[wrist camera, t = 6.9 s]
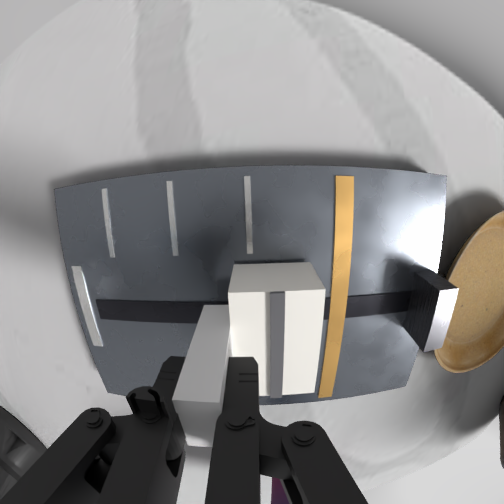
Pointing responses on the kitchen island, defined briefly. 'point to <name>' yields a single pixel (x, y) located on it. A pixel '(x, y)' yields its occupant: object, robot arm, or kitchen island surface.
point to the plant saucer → (476, 300)
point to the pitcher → (501, 431)
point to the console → (259, 252)
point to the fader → (278, 323)
